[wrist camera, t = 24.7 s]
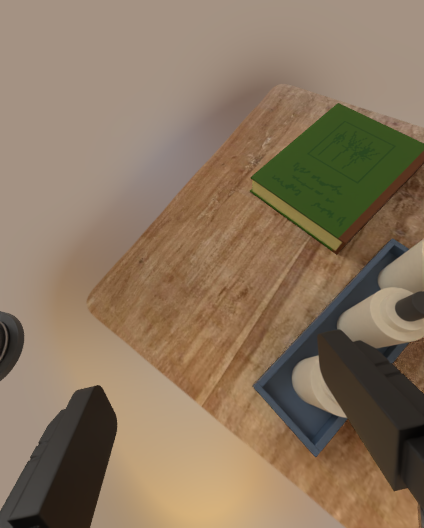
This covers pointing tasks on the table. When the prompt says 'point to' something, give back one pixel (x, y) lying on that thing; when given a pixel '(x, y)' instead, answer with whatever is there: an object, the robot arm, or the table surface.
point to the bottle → (314, 386)
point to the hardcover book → (338, 175)
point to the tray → (305, 346)
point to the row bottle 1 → (405, 271)
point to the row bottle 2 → (385, 318)
